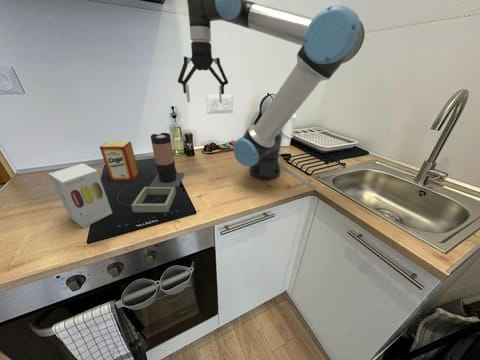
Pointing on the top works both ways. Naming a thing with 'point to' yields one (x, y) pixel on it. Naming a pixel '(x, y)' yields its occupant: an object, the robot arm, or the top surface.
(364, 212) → the top surface
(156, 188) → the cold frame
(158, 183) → the rubber mat
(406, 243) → the top surface
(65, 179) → the supplement box
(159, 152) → the travel mug
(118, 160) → the baking soda box
